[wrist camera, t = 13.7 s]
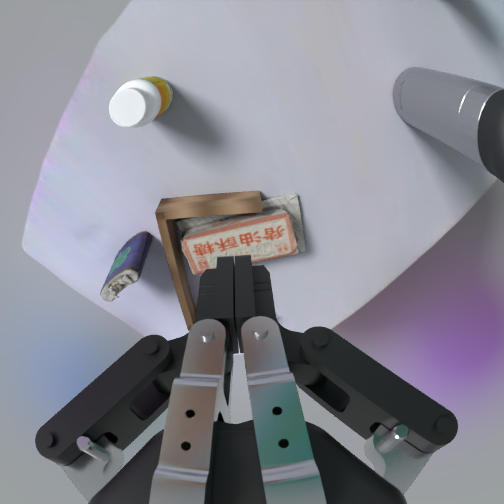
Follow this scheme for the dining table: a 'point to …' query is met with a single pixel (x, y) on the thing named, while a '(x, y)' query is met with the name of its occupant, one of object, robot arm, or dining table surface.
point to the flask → (127, 265)
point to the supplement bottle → (140, 101)
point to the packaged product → (244, 234)
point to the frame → (196, 208)
